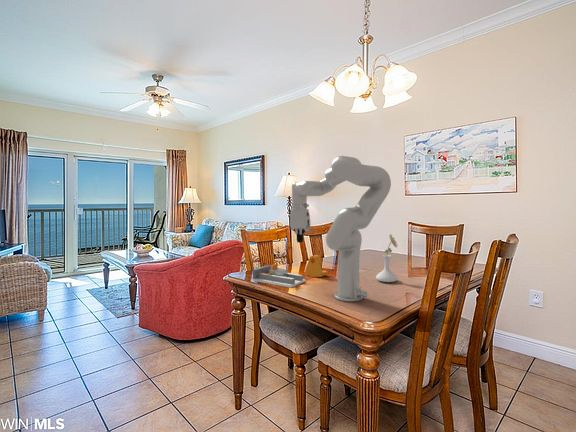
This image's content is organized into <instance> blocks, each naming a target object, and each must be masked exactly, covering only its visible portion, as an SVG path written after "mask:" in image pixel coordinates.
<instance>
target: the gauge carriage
mask: <svg viewBox="0 0 576 432" xmlns="http://www.w3.org/2000/svg"><path fill="white" fill-rule="evenodd" d="M270 265H271V270H270V273H267V275H270V274H271V275H277V276H283V277H288V273H289V269H286V268H280V267H279V266H278V263H273V264H270Z"/></svg>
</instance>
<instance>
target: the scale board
mask: <svg viewBox="0 0 576 432" xmlns="http://www.w3.org/2000/svg"><path fill="white" fill-rule="evenodd" d="M271 265H272V264H267V265H264V266H260V267H257V268H254V269H252V281H253V282H258V283H262V284H263V283H264V284H269V285H274V286H279V287H285V288H293V287H296V286H298V285H301V284H303V283H305V282H306V279H304V275H302V274H298V273H297V274H296V273H290V272H288V277H283V276H277V275H271V274H270V275H267V273H270V270H271Z"/></svg>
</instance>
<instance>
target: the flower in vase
mask: <svg viewBox="0 0 576 432" xmlns="http://www.w3.org/2000/svg"><path fill="white" fill-rule="evenodd" d="M388 236H389V237H388V238H389V239H390V242H389V245H388V247H387V249H385V250H384V253H386V254H382V255H381V256H382V258H383V261H384V268H383V269H382V271H380V272H378V273H377V274H376V275H375V278H376V280H378V281H379V282H384V283H393V282H396V281H398V280H399V278H398V276H397V275H396V274H395V273H394V272H393V271H392V270H391V269H390V260H391V258H392V257H393V256H392V254H389V253H392V252H393V251H392V248H390V246H391V244H392V245H393V246H394V247H395V248H398V246H399V245H398V244H397V241H396V239H395V237H393V235H392V234H389V235H388Z"/></svg>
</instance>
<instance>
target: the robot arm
mask: <svg viewBox="0 0 576 432" xmlns="http://www.w3.org/2000/svg"><path fill="white" fill-rule="evenodd" d="M324 177H325V178H323V179H320V180H318V181H317V180H304V181H300V182H299V181H298V182H297V181H295V182H293V183H292V184H291V210H290V215H289V226H290V230H291V231H292V232H294V233H295V235H296V242H297V243H299V244H300V243H303V242H304V235H305V233H306V232H308V231H310V228H311V216H310V211H309V209H308V207H310V204H308V201H307V200H308V197H322V196H324V195H326V194H328V193H331V192H332V191H334V189H335V188H336V187H337V186H338V185H340V184H342V183H344V182H348V183H350V184H352V185H355V186H359V187H369V188H368V189H367V190H366V191H365V192H364V193H363V194H362V195H361V197H360V199H359V201H358V202H357V204H355V206H353V207H345V208H343V209H342V210H340V212H338V214H337V215H336V217H335V219H334V221H333V222H332V224H331V225H330V228H329V229H328V231H327V233H326V236H325V243H326V246H327V247H328V248H329V249H330V250H332V251H335V252H337V251H338V253H337V254H338V255H337V292H335V293H334V295H333V296H334V298H335V299H336V300H338V301H342V302H360V301H362V300H363V299H364V298H369V293H368V291H364V290H363V289H362V287H360V261H361V260H360V259H361V257H360V254H361V253H360V252H361V247H362V238H363V237H362V234H361V231H360V230H363V229H366V228H367V227H368V226H369V225H370V224H371V222H372V221H373V219H374V217H375V216H376V214H377V213H378V210H379V209H380V208H381V205H382V204H383V203H384V201H385V200H386V199H387V197H388V195H389V193H390V190H391V186H392V181H391V180H392V179H391V177H390V174H389V172H388V171H387V170H386V169H385V168H383V167H381V166H377V165H370V164H369V165H368V164H363V163H362V162H361V160H360V159H358V158H357V157H353V156H347V155H340V156H337V157H336V158H334V159H333V161H332V162H331V166H330V167H329V168H328V169H326V170H325V172H324Z"/></svg>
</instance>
